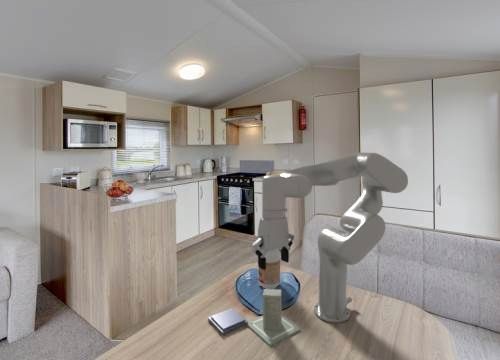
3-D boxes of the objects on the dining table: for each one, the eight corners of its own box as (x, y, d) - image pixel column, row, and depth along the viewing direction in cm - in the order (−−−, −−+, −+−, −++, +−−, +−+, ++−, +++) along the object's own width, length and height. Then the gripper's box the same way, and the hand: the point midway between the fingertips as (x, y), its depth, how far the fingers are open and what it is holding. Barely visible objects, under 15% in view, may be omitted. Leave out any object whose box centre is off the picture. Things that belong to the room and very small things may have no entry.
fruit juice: (272, 292, 118) (273, 227, 115) (254, 285, 124) (254, 223, 121) (283, 283, 126) (284, 222, 123) (265, 277, 132) (266, 219, 128)
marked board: (274, 311, 104) (275, 310, 104) (300, 330, 94) (300, 328, 94) (245, 324, 97) (245, 322, 97) (270, 346, 86) (270, 344, 86)
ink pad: (232, 311, 105) (232, 306, 105) (248, 324, 97) (248, 319, 96) (208, 320, 99) (208, 315, 99) (222, 335, 91) (222, 330, 91)
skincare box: (281, 322, 97) (282, 289, 95) (281, 331, 92) (281, 295, 91) (263, 321, 98) (263, 288, 96) (262, 329, 93) (262, 294, 92)
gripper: (286, 208, 99) (285, 255, 101) (245, 215, 89) (245, 267, 91) (301, 212, 93) (300, 262, 95) (259, 220, 83) (259, 275, 85)
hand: (273, 264), depth 93 cm, fingers open, 9 cm apart
